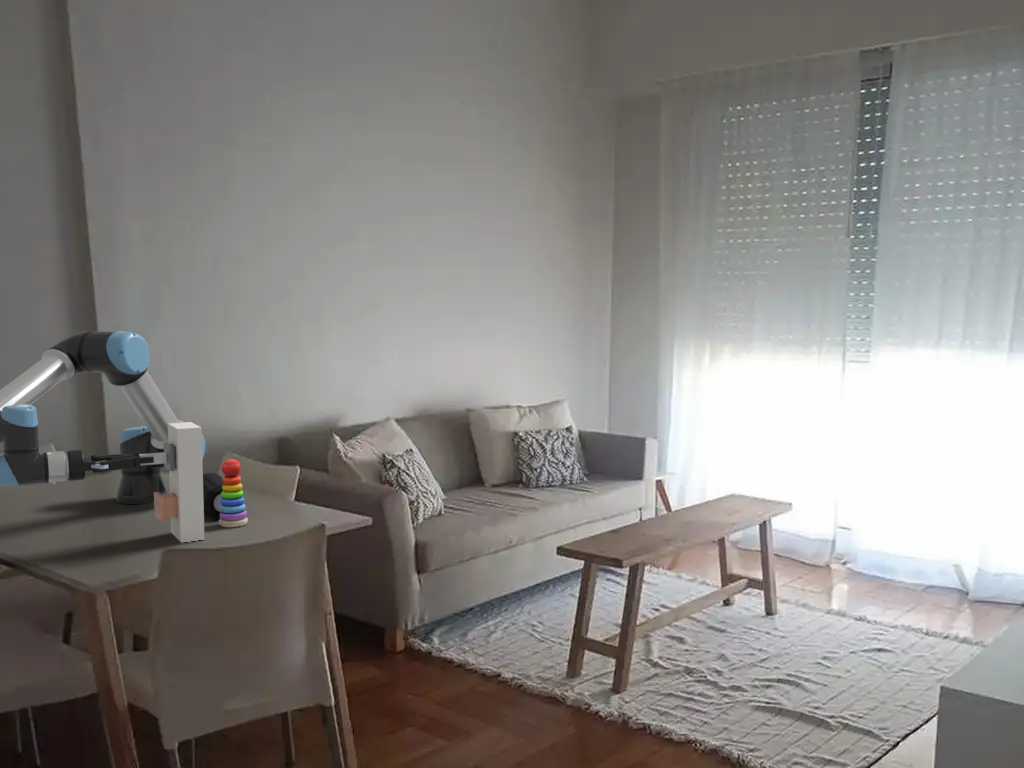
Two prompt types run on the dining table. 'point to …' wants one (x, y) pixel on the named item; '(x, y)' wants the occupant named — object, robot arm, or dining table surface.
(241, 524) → the stacking toy
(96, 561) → the dining table surface
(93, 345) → the robot arm
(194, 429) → the button panel
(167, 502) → the lower button
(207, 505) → the portable speaker
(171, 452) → the upper button
